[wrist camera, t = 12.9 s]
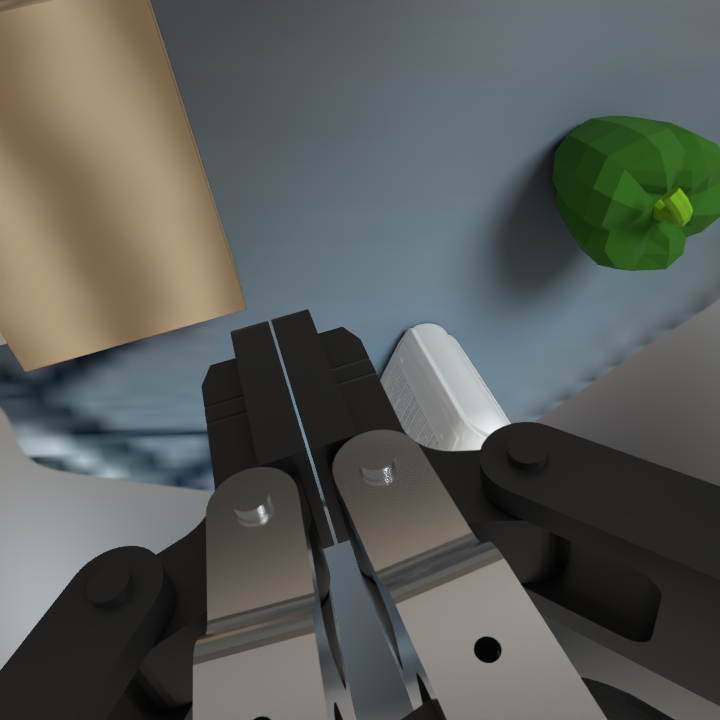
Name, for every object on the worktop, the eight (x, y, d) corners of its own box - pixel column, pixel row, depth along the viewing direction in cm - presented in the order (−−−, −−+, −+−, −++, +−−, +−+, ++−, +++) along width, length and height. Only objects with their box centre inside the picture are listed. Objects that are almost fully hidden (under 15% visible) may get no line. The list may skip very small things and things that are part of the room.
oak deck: (139, -32, 29) (140, -19, 26) (237, 274, 39) (246, 309, 36) (-142, 30, 28) (-176, 51, 25) (33, 330, 38) (25, 371, 35)
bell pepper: (654, 190, 44) (765, 260, 36) (541, 243, 44) (628, 324, 36) (648, 66, 39) (776, 118, 31) (520, 126, 39) (616, 192, 31)
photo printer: (401, 436, 51) (463, 567, 42) (351, 430, 49) (404, 566, 40) (458, 326, 46) (543, 447, 37) (405, 315, 45) (479, 439, 35)
